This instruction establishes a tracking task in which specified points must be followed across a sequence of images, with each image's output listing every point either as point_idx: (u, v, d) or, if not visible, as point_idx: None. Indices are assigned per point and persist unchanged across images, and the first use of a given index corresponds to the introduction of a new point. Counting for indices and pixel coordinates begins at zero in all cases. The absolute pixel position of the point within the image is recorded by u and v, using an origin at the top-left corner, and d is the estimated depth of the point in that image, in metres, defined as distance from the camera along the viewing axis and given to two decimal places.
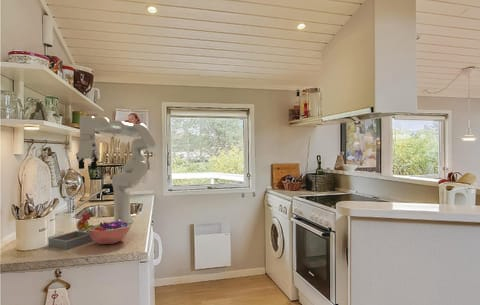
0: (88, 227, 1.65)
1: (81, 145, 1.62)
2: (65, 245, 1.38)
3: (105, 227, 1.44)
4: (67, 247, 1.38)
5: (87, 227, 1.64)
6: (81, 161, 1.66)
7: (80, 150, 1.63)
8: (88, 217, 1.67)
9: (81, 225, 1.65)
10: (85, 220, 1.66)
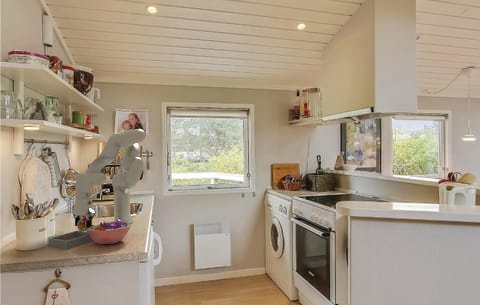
0: (89, 227, 1.65)
1: (77, 203, 1.64)
2: (65, 245, 1.38)
3: (105, 227, 1.44)
4: (67, 247, 1.38)
5: (88, 227, 1.64)
6: (77, 218, 1.67)
7: (76, 207, 1.65)
8: None
9: (82, 225, 1.65)
10: (85, 220, 1.66)
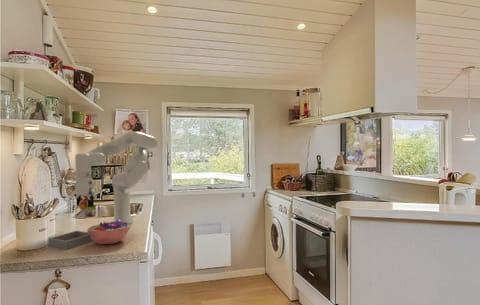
0: (90, 207, 1.65)
1: (78, 183, 1.64)
2: (65, 245, 1.38)
3: (105, 227, 1.44)
4: (67, 247, 1.38)
5: (89, 207, 1.65)
6: (79, 198, 1.68)
7: (77, 188, 1.65)
8: None
9: (83, 205, 1.66)
10: (87, 200, 1.66)
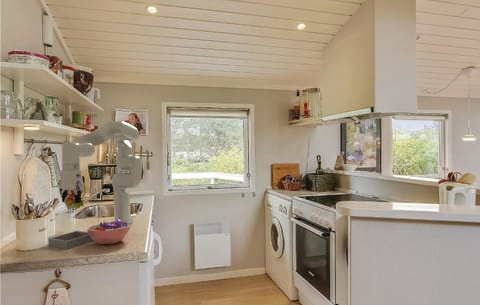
0: (77, 203, 1.46)
1: (64, 176, 1.45)
2: (65, 245, 1.38)
3: (105, 227, 1.44)
4: (67, 247, 1.38)
5: (76, 203, 1.45)
6: (65, 193, 1.49)
7: (63, 181, 1.46)
8: None
9: (69, 201, 1.46)
10: None
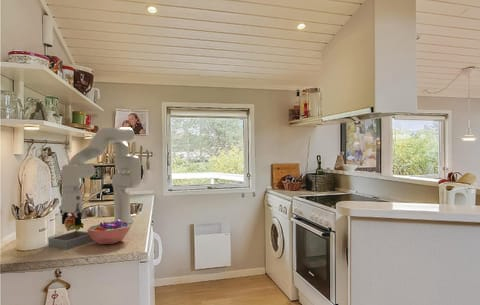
0: None
1: (64, 198, 1.45)
2: (65, 245, 1.38)
3: (105, 227, 1.44)
4: (67, 247, 1.38)
5: None
6: (65, 215, 1.48)
7: (63, 203, 1.46)
8: None
9: (69, 223, 1.46)
10: (74, 217, 1.47)
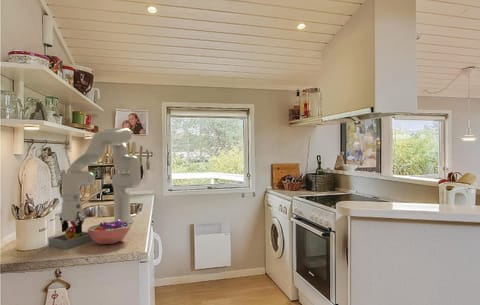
0: (78, 236, 1.46)
1: (64, 207, 1.45)
2: (65, 245, 1.38)
3: (105, 227, 1.44)
4: (67, 247, 1.38)
5: (77, 236, 1.45)
6: (65, 223, 1.49)
7: (63, 212, 1.46)
8: None
9: (70, 234, 1.46)
10: (74, 228, 1.47)
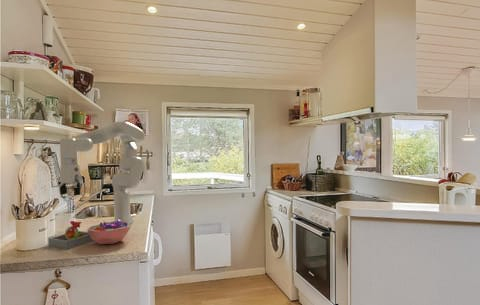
0: (78, 236, 1.46)
1: (63, 170, 1.52)
2: (65, 245, 1.38)
3: (105, 227, 1.44)
4: (67, 247, 1.38)
5: (77, 236, 1.45)
6: (63, 186, 1.56)
7: (62, 175, 1.53)
8: (78, 225, 1.48)
9: (70, 234, 1.46)
10: (74, 228, 1.47)
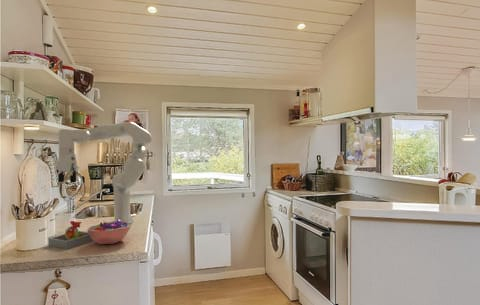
0: (78, 236, 1.46)
1: (60, 159, 1.64)
2: (65, 245, 1.38)
3: (105, 227, 1.44)
4: (67, 247, 1.38)
5: (77, 236, 1.45)
6: (61, 174, 1.67)
7: (59, 163, 1.64)
8: (78, 225, 1.48)
9: (70, 234, 1.46)
10: (74, 228, 1.47)
